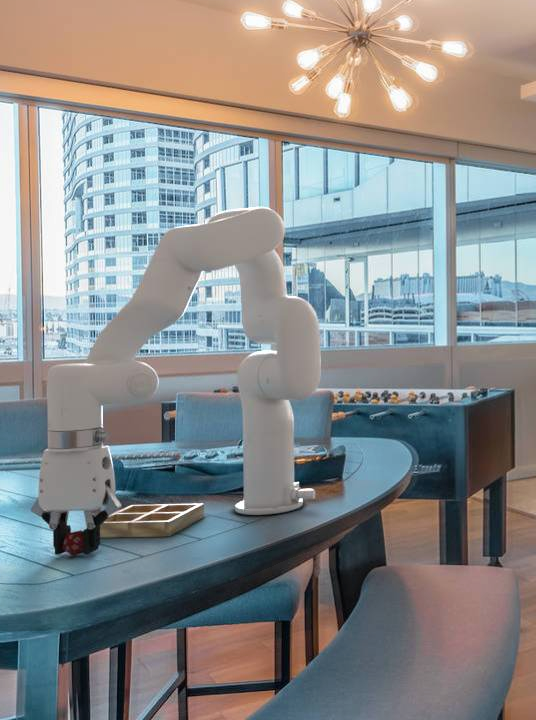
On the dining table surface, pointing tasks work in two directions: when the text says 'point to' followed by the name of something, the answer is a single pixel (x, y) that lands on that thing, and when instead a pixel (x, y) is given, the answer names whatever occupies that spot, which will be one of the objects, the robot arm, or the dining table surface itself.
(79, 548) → the dice
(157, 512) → the wooden compartment tray
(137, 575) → the dining table surface
